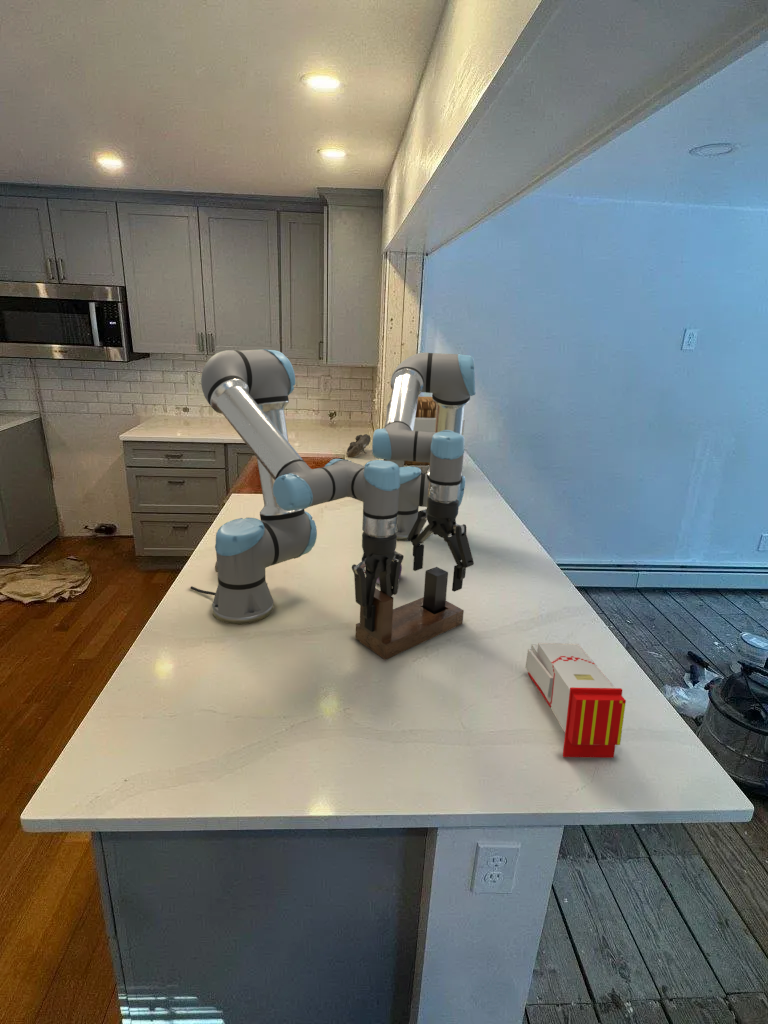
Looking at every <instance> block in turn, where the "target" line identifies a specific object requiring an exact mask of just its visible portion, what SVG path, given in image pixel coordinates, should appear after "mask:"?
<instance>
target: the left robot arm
mask: <svg viewBox="0 0 768 1024" xmlns="http://www.w3.org/2000/svg"><path fill="white" fill-rule="evenodd" d="M200 385H201V390H202V393H203V396H204V398H205V400H206V402H207V403H208V404H209V406H211V408H212V410H213V411H214V412H216V413H218V414H222V415H223V416H224V418H225V419H226V421H227V422H228V423H229V424H230V426H231V427H232V428H233V429H234V430H235V432H236V433H237V434H238V436H239V437H240V438H241V439H242V440H243V442H244V443H245V445H246V446H247V447H248V449H249V450H250V451H251V453H252V454H253V455H254V456H255V457H256V460H257V468H258V475H259V481H260V487H261V493H262V500H263V507H262V509H261V510H260V511H259V519H258V518H257V517H256V518H254V517H245V518H243V517H239V518H235V519H232V520H229V521H227V522H225V523H224V524H222V525H221V526H220V527H219V528H218V530H217V532H216V533H215V545H214V548H215V549H214V550H215V551H216V552H215V553H216V554H215V555H216V561H217V571H218V572H217V587H216V590H215V592H214V591H208V590H203V589H199V588H197V587H195V586H192V585H191V586H190V590H193V591H195V592H197V593H201V594H205V595H211V596H214V597H213V601H212V604H211V608H212V615H213V617H214V618H215V619H216V620H218V621H220V622H223V623H225V624H231V625H244V624H245V625H246V624H247V625H248V624H253V623H256V622H259V621H262V620H264V619H265V618H267V617H268V616H270V615H271V614H272V612H273V611H274V598H273V595H272V594H271V590H270V587H269V586H268V582H267V580H266V568H269V567H271V566H274V565H278V564H281V563H284V562H286V561H290V560H292V559H298V558H301V556H304V555H307V554H309V553H310V552H311V551H312V549H313V548H314V547H315V544H316V542H317V539H318V538H317V535H318V529H317V525H316V522H315V520H314V519H313V516H312V514H311V513H309V512H308V511H305V509H308V508H310V507H314V506H317V505H321V504H324V503H325V504H326V503H330V502H333V501H338V500H341V499H345V498H350V499H351V498H352V499H354V500H358V501H360V502H362V506H363V507H362V526H361V528H362V533H361V548H362V551H363V553H362V557H361V561H360V562H359V563H357V564H355V563H353V564H352V565H351V570H352V572H353V575H354V576H353V577H354V596H355V597H354V598H355V599H354V600H355V603H356V604H358V605H359V606H360V605H361V606H363V617H365V623H364V627H365V628H367V629H368V630H369V631H371V632H373V631H374V626H375V605H373V599H374V593H375V588H376V587H377V583H376V581H377V578H379V581H380V584H379V590H380V591H381V592H383V593H385V594H386V595H388V596H390V597H391V598H393V599H394V597H393V596H396V595H397V594H398V591H399V581H400V579H399V575H400V567H401V565H402V563H403V561H404V555H403V554H402V553H400V552H398V551H396V550H397V541H398V540H397V534H396V531H397V520H398V500H399V489H400V469H399V466H398V465H397V464H396V463H394V462H391V461H384V459H373V460H369V461H367V462H366V463H365V464H363V465H362V464H359V463H356V462H355V461H352V460H349V459H346V458H345V459H342V458H332V459H331V460H330V461H328V462H327V463H325V465H324V466H321V467H316V468H311V467H310V466H309V465H308V463H307V462H306V461H305V460H304V459H303V457H301V455H300V454H299V453H298V452H297V451H296V449H295V448H294V447H293V445H292V444H291V443H290V441H289V435H288V429H287V422H286V421H287V420H286V415H285V408H286V407H287V405H288V404H289V403H290V400H289V396H290V395H291V393H293V391H294V390H295V387H294V386H295V385H296V373H295V370H294V367H293V364H292V362H291V361H290V359H289V358H288V357H287V356H286V355H285V354H284V353H283V352H281V351H279V350H275V349H267V348H263V349H242V350H241V349H239V350H232V349H231V350H230V349H229V350H227V349H226V350H222V351H220V352H217V353H215V354H214V355H212V356H211V357H210V358H209V359H208V360H207V361H206V363H205V364H204V367H203V369H202V371H201V377H200Z"/></svg>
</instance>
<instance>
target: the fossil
mask: <svg viewBox="0 0 768 1024" xmlns="http://www.w3.org/2000/svg"><path fill="white" fill-rule="evenodd" d="M354 440H355V441H351V442H350V443H349V446H348V447H347V450H346V456H347V457H348V458H352V457H355V456H357V455H359V454H360V453H361V452H363V453H364V454H366V452H365V449H366V448H367V446H369V445H370V443H371V440H372V439H371V436H370V434H367V433H365V434H358V435H356V436H355V438H354Z"/></svg>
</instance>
